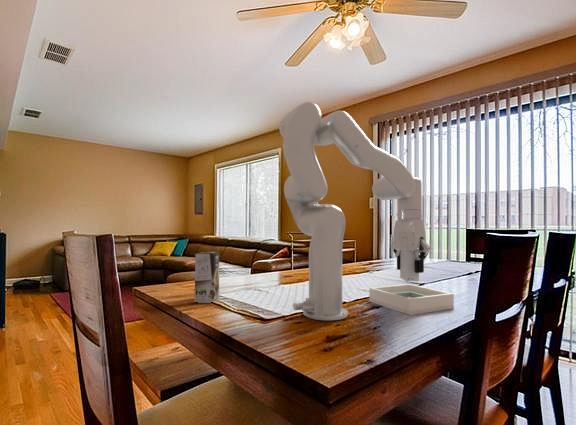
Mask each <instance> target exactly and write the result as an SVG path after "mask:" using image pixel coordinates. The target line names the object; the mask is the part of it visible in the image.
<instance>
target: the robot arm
mask: <svg viewBox="0 0 576 425" xmlns="http://www.w3.org/2000/svg"><path fill="white" fill-rule="evenodd" d="M278 129H279V133H280V136H282V138H283V142H282V143H283V144H282V149H283V155H284V160H285V162H286V165H287V169H288V172H289V173H290V175H289V176H288V177H287V178H286V180H285V181H284V185H283V186H284V188H283V193H284V197H285V200H286V202H287V205H288V207H289V209H290V212H291V214H292V217H293V220H294V221H295V222H294V223H295V224H296V226H297V227H298V230H300V232H302V233H303V234H304V235H307V236H310V237H311V238H310V242H309V249H308V297H307V298H305V300H304V301H303V302H296V303H295V302H294V303H293V305H292V308H293V311H302V312H303V315H304V316H305V317H306V318H308V319H312V320H316V321H317V320H318V321H339V320H343V319H346V318H347V317H348V315H349V312H348V310H347V309H345V308H344V307H343V245H344V244H343V243H344V235H345V232H346V231H345V230H346V217H345V213H344V212H343V211H342V209H341V208H340V207H338V206H337V205H335V204H332V203H322V204H319V201H321V200H323V199H324V198H325V197H326V196H327V193H328V188H329V187H328V183H327V180H326V177H325V174H324V173H323V169H322V167H321V165H320V162H319V160H318V157H317V154H316V151H315V146H320V147H321V146H330V145H332V144H335V146H336V147H337V149H338V150H340V151H341V153H342V154H343V155H344V156H345V157H346V159H347V160H348V162H349V163H350V164H352V165H353V166H355V167H359V168H362V169H365V170H370V171H373V172H375V173H378V174H379V175H381V176H382V177H380V178H377V179H376V180H375V181H374V182H373V184H372V186H371V190H372V191H371V192H372V194H373V196H374V197H375V198H377V199H378V200H381V201H392V200H393V201H394V200H396V210H397V212H396V218H397V219H396V220H395V223H394V228H393V241H392V242H391V244H390V248H392V251H393V253H394V254H395V255H394V256H395V258H396V270H398V271H399V270H400V252H401V251H404V250H405V244H406V243H407V244H408V251H410V252H414V254H415V257H416V259H417V260H415V273H419V274H420V273H421V274H422V273H424V272H425V271H424V270H425V268H424V267H425V264H424V263H425V262H424V261H425V260H426V258H427V257H428V255H429V254H430V252H431V250H432V248H431V247H432V246H430V245H429V244H428V243H427V241H426V238H427V237H426V230H425V228H426V227H425V224H424V220H423V217H422V216H423V213H422V212H423V207H422V206H423V205H422V203H423V202H422V201H423V200H422V198H423V197H422V192H423V191H422V181H421V179H420V178H418V177H414V176H413V175H412V173H411V172H410V170H409V169H408V168H407V167H406V165H404V163H403V162H402V161H401V160H400V159H398V158H397V157H396V156H394V155H392V154H390V153H389V152H388V151H385V150H384V149H382V148H380V147H377V146H375V144H374V143H373V142H372V141H371V140H370V138H368V136H367V135H366V134H365V132H364V131H363V130H362V128H361V127H360V126H359V125H358V124H357V123H356V121H355V120H354V118H353V117H352V116H351V115H350V114H349V113H348V112H346V111H344V110H335V111H333V112H330V113H329V114H327V115H325V116H324V117H322V112H321V108H320V107H319V106H318V105H317V104H316V103H315V102H313V101H305V102H303V103H300V104H299V105H297V106H295V107H294V108H293V109H292V110H291V111H290V112H288V113H287V114H285V115H284V116H283V117H282V119H281V120H280V122H279V126H278ZM418 248H419V250H418ZM418 252H419V253H418Z"/></svg>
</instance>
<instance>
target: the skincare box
mask: <svg viewBox="0 0 576 425" xmlns="http://www.w3.org/2000/svg"><path fill="white" fill-rule="evenodd" d="M418 250H419V248H418ZM418 253H419V252H418ZM415 260H417V259H416V257H415V254H414V252H410V251H408V244H407V243H406V244H405V250H404V251H401V252H400V271H399V279H400V280H403V281H405V282H420V273H415Z"/></svg>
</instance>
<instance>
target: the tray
mask: <svg viewBox="0 0 576 425" xmlns="http://www.w3.org/2000/svg"><path fill="white" fill-rule="evenodd" d="M368 292H369V296H368V297H369V300H368V301H369V302H370V303H373V304H376V305H379V306H381V307H385V308H387V309H391V310H394V311H397V312H399V313H403V314H406V315H409V316H414V315H419V314H426V313H427V314H428V313H431V312H440V311H445V310H453V309H454V308H455V306H454V305H455V302H454V298H455V297H454V295H455V294H454V293H452V292H447V291H443V290H438V289H434V288H429V287H424V286H421V285H416V284H412V283H407V284H396V285H395V284H394V285H386V286H376V287H375V286H374V287H369V290H368Z"/></svg>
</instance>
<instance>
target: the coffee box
mask: <svg viewBox="0 0 576 425" xmlns="http://www.w3.org/2000/svg"><path fill="white" fill-rule="evenodd" d="M194 254H195V255H194V256H195V259H194V265H195V266H194V270H195V271H194V301H193V303H195V302H198V304H202V303H203V304H212V303H211V302H213V303H215V301H216V300H217V299H218V298H220V251H200V252H197V253H194ZM217 297H218V298H217ZM216 298H217V299H216ZM215 299H216V300H215ZM214 300H215V301H214Z"/></svg>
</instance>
